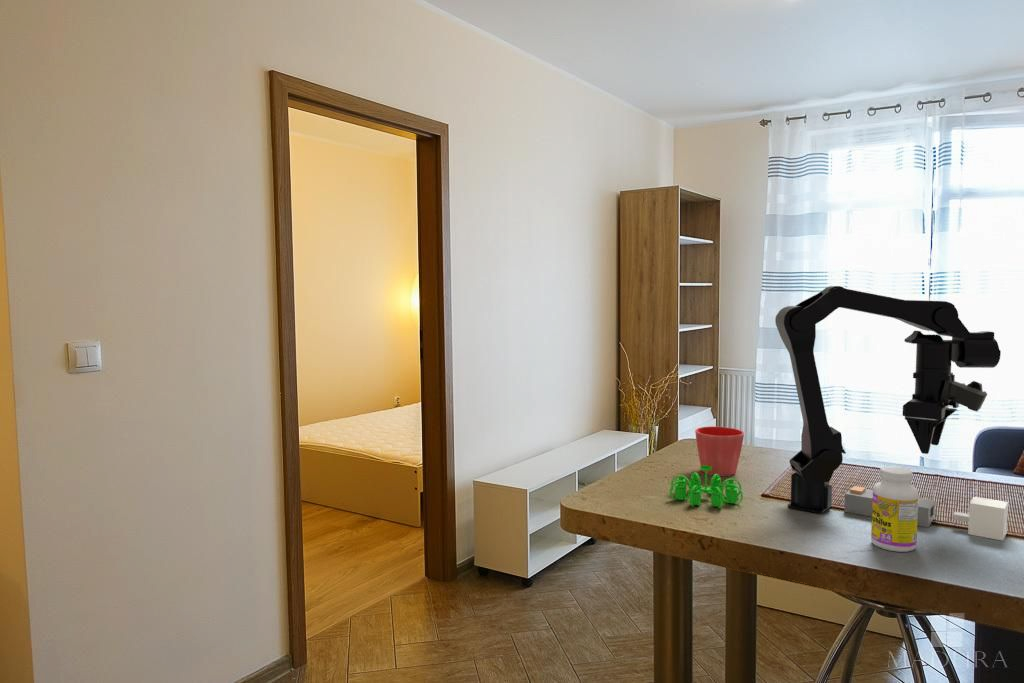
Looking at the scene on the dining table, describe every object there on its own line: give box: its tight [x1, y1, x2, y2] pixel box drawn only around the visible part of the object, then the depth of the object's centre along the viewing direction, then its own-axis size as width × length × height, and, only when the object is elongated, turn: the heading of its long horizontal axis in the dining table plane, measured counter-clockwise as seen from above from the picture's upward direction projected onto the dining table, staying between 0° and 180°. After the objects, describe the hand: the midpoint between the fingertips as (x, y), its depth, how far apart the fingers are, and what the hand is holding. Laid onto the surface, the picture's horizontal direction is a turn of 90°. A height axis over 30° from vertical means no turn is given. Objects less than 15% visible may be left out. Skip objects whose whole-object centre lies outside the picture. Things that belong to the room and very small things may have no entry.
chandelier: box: [669, 465, 744, 510], centre depth 143 cm, size 15×15×7 cm
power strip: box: [844, 485, 936, 528], centre depth 132 cm, size 14×6×4 cm, turn 49°
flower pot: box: [694, 426, 745, 477], centre depth 164 cm, size 11×11×10 cm
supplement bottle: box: [870, 465, 920, 553], centre depth 117 cm, size 7×7×13 cm
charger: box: [952, 496, 1009, 541], centre depth 123 cm, size 8×5×6 cm, turn 49°
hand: (930, 449), depth 134 cm, fingers open, 9 cm apart
